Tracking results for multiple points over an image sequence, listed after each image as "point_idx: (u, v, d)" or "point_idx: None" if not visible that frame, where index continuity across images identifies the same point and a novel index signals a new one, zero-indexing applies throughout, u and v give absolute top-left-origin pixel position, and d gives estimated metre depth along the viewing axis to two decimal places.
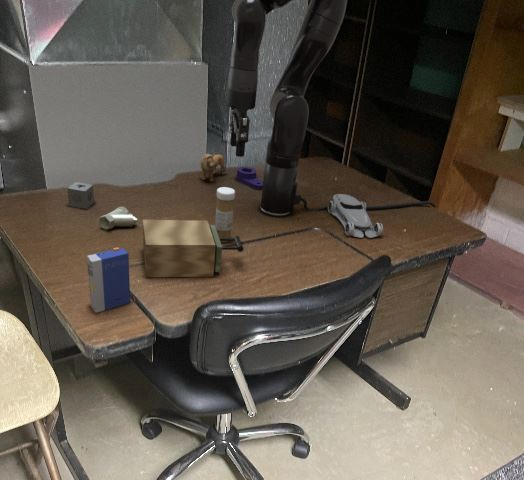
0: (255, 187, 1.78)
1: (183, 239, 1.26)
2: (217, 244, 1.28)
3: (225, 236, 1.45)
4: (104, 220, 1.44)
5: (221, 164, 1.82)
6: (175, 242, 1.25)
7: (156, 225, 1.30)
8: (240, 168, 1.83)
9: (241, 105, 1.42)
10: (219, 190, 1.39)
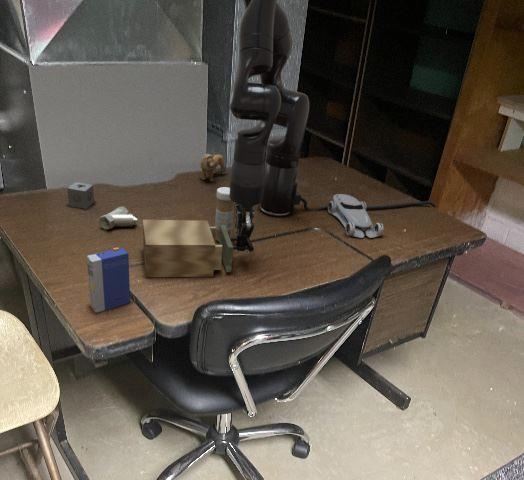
0: None
1: (183, 239, 1.26)
2: (228, 244, 1.29)
3: None
4: (104, 220, 1.44)
5: (221, 164, 1.82)
6: (175, 242, 1.25)
7: (156, 225, 1.30)
8: None
9: (246, 201, 1.25)
10: (219, 190, 1.39)
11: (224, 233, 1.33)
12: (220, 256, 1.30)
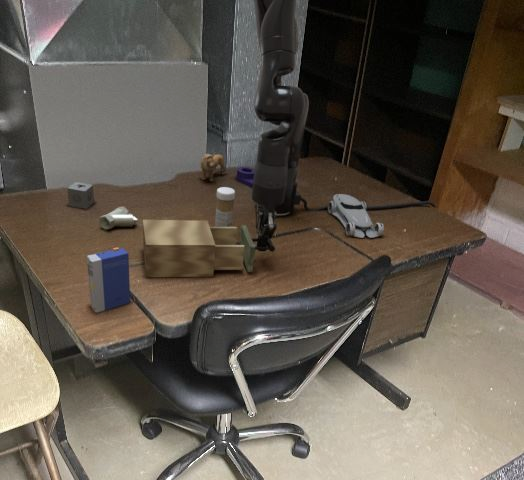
0: None
1: (183, 239, 1.26)
2: (250, 244, 1.30)
3: None
4: (104, 220, 1.44)
5: (221, 164, 1.82)
6: (175, 242, 1.25)
7: (156, 225, 1.30)
8: (240, 168, 1.83)
9: (269, 202, 1.26)
10: (219, 190, 1.39)
11: (245, 233, 1.35)
12: (242, 256, 1.31)
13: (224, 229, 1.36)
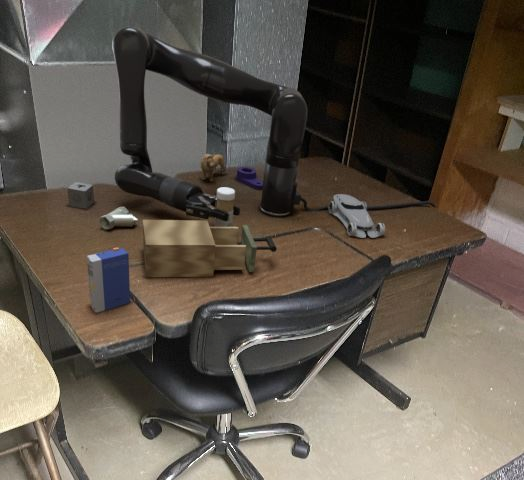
0: (255, 187, 1.78)
1: (183, 239, 1.26)
2: (252, 244, 1.30)
3: None
4: (104, 220, 1.44)
5: (221, 164, 1.82)
6: (175, 242, 1.25)
7: (156, 225, 1.30)
8: (240, 168, 1.83)
9: (182, 204, 1.44)
10: (219, 190, 1.39)
11: (247, 233, 1.35)
12: (244, 256, 1.31)
13: (225, 229, 1.36)
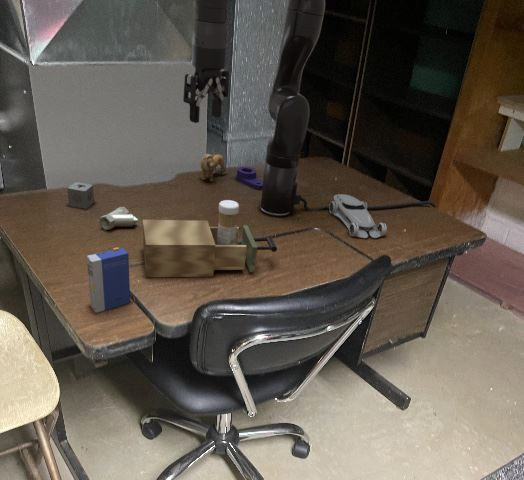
0: (255, 187, 1.78)
1: (183, 239, 1.26)
2: (252, 244, 1.30)
3: None
4: (104, 220, 1.44)
5: (221, 164, 1.82)
6: (175, 242, 1.25)
7: (156, 225, 1.30)
8: (240, 168, 1.83)
9: (196, 62, 1.25)
10: (221, 204, 1.27)
11: (247, 233, 1.35)
12: (244, 256, 1.31)
13: None
